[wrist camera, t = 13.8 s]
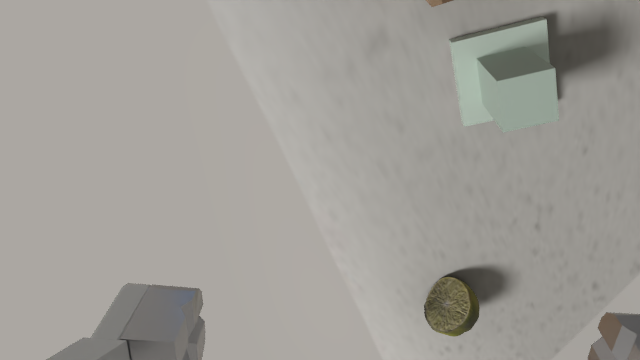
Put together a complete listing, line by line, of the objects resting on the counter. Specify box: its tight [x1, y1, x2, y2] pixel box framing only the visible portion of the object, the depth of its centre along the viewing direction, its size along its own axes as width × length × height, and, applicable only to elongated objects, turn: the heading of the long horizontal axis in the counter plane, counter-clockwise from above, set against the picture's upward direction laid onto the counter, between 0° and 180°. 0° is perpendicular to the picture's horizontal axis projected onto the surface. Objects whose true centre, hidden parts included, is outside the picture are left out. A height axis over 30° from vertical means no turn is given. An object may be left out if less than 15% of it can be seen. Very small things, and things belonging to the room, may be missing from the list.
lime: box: [424, 277, 479, 336], centre depth 46 cm, size 4×5×5 cm
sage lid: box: [449, 17, 559, 132], centre depth 36 cm, size 7×7×7 cm
